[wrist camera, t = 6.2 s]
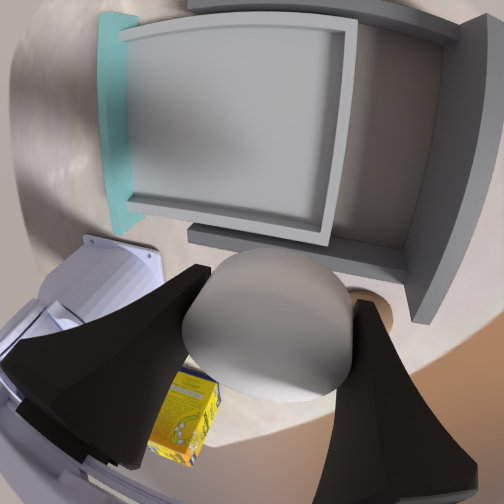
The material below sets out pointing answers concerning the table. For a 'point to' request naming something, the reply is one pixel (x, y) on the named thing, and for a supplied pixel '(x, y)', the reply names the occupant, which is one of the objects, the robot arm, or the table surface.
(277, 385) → the white round dome
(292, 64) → the tray
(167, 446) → the supplement box
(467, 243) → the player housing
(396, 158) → the table surface
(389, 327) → the disc stand
